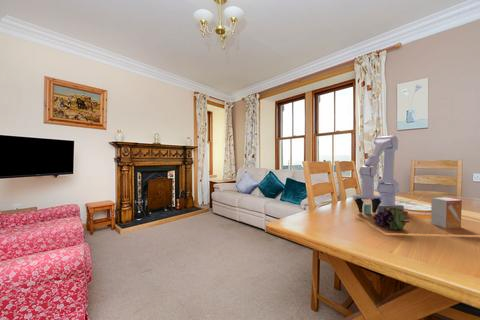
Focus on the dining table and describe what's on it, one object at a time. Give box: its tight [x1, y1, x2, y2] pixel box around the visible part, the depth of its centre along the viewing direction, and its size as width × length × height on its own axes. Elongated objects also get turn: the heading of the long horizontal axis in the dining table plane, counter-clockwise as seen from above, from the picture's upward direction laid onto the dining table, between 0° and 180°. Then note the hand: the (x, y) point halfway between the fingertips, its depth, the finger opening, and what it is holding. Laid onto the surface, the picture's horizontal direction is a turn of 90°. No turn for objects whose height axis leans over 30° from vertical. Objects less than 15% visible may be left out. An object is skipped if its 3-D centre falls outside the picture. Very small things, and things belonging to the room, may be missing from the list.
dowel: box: [363, 202, 372, 215], centre depth 110 cm, size 3×3×6 cm
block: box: [385, 208, 409, 219], centre depth 106 cm, size 7×7×3 cm
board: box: [376, 204, 405, 214], centre depth 102 cm, size 18×13×5 cm
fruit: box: [372, 208, 410, 231], centre depth 89 cm, size 10×10×15 cm
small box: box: [430, 196, 463, 229], centre depth 91 cm, size 8×6×13 cm
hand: (367, 212), depth 110 cm, fingers open, 6 cm apart
